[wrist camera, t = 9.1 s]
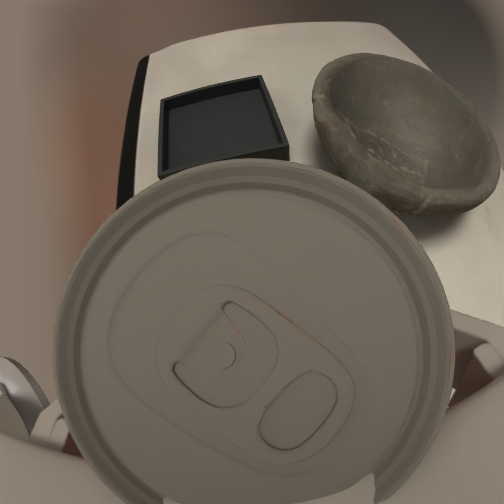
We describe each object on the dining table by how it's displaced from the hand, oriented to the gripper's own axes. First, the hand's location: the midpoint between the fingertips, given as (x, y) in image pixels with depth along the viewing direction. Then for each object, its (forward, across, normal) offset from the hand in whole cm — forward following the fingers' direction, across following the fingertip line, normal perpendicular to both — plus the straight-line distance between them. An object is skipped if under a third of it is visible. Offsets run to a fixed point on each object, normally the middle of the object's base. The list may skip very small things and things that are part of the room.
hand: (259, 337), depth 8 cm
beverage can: (+4, 0, +5) cm, 7 cm away
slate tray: (+32, +2, -7) cm, 33 cm away
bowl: (+25, -19, 0) cm, 32 cm away
